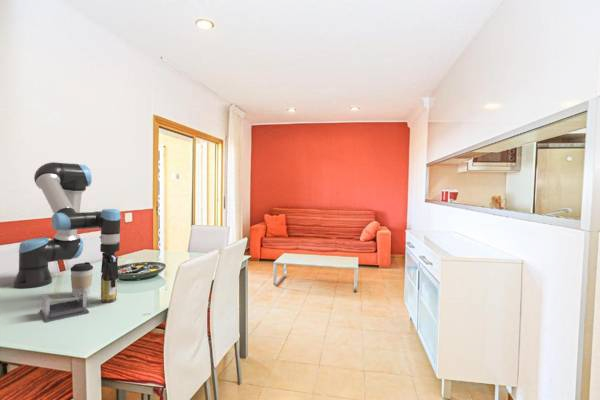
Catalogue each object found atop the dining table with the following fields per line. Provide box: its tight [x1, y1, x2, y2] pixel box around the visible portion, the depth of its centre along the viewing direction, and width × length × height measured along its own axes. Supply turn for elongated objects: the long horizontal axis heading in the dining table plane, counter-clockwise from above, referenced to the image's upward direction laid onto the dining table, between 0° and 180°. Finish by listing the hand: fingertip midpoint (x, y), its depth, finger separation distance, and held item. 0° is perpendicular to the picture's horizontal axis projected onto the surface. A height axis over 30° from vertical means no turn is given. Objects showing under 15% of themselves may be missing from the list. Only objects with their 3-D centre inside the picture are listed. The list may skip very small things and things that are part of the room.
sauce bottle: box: [100, 258, 118, 304], centre depth 144 cm, size 6×6×20 cm
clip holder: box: [39, 288, 90, 323], centre depth 129 cm, size 14×14×8 cm
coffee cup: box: [70, 262, 94, 298], centre depth 150 cm, size 9×9×15 cm
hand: (108, 291), depth 144 cm, fingers open, 9 cm apart
